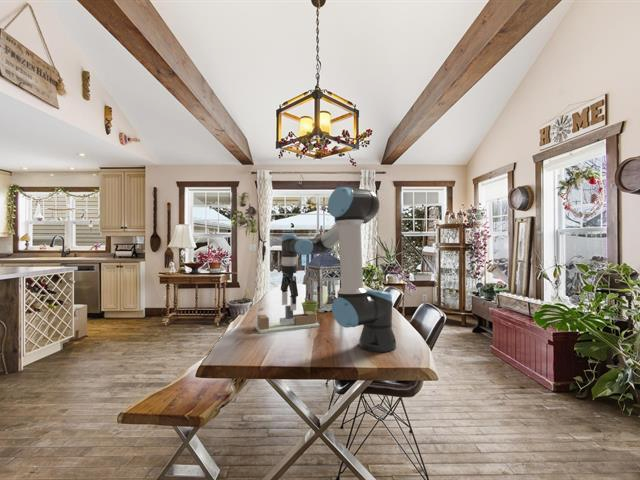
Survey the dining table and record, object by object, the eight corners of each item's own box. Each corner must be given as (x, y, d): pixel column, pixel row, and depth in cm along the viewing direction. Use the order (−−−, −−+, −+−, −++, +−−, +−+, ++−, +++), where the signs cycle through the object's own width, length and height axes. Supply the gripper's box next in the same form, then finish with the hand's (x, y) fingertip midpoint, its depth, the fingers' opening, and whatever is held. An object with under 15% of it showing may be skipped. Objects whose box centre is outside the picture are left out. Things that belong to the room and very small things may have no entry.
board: (319, 326, 171) (319, 314, 171) (260, 333, 159) (260, 319, 159) (310, 321, 182) (310, 309, 182) (254, 327, 170) (254, 314, 170)
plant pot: (298, 317, 190) (298, 302, 190) (314, 316, 194) (314, 300, 194) (305, 321, 182) (305, 305, 182) (321, 319, 186) (321, 303, 186)
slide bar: (313, 322, 174) (313, 304, 174) (281, 325, 168) (281, 307, 167) (311, 320, 177) (311, 303, 177) (279, 324, 170) (279, 306, 170)
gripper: (305, 267, 160) (304, 312, 161) (288, 262, 183) (288, 301, 184) (290, 267, 157) (289, 313, 158) (274, 263, 180) (274, 303, 181)
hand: (288, 307), depth 171 cm, fingers open, 13 cm apart
